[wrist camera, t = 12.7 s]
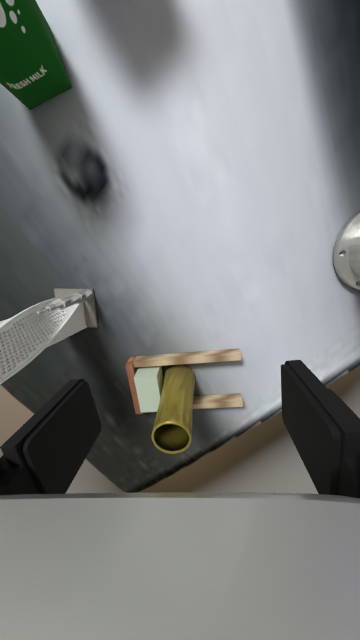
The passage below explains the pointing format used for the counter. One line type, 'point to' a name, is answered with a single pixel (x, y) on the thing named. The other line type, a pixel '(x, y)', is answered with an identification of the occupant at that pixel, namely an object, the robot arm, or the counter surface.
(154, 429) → the vase
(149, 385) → the block
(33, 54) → the milk carton
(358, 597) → the robot arm
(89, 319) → the skyscraper
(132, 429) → the counter surface
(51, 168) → the counter surface
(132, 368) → the track
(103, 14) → the counter surface
